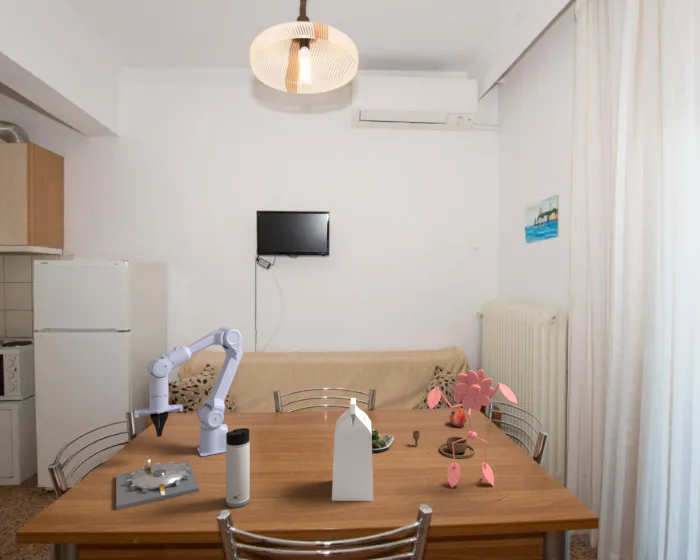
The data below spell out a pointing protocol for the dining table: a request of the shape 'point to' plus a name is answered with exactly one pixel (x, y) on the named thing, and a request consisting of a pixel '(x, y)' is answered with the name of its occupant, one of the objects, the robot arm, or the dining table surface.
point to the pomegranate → (457, 417)
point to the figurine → (472, 394)
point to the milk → (353, 457)
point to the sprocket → (158, 476)
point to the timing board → (139, 497)
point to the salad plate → (380, 441)
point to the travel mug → (237, 468)
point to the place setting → (450, 445)
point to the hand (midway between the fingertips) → (159, 435)
